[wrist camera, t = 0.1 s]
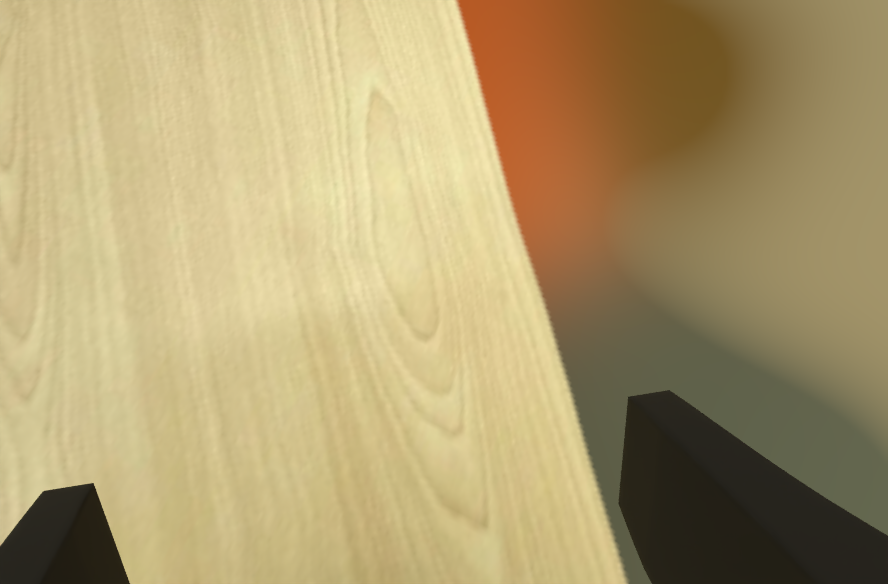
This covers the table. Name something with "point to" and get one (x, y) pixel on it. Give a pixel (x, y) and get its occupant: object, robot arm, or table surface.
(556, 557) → the table surface
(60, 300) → the table surface
